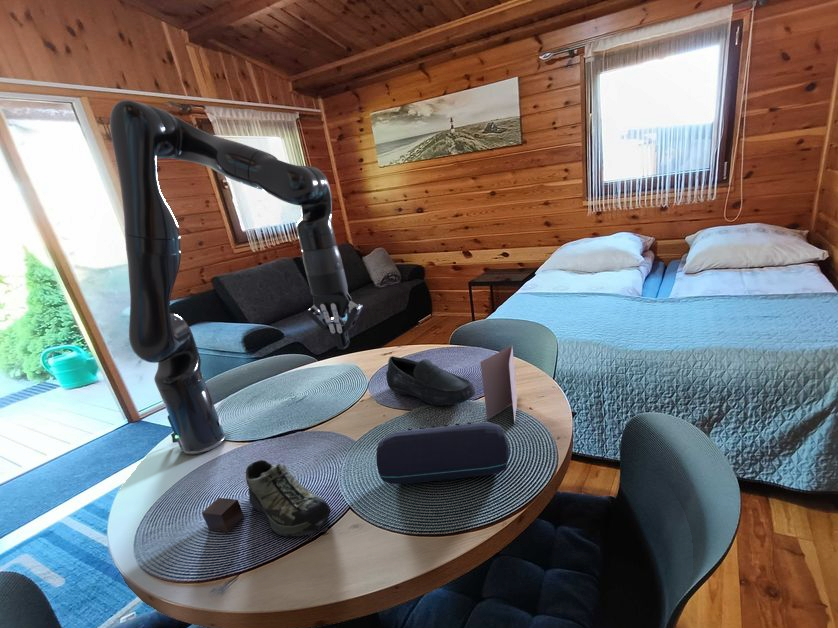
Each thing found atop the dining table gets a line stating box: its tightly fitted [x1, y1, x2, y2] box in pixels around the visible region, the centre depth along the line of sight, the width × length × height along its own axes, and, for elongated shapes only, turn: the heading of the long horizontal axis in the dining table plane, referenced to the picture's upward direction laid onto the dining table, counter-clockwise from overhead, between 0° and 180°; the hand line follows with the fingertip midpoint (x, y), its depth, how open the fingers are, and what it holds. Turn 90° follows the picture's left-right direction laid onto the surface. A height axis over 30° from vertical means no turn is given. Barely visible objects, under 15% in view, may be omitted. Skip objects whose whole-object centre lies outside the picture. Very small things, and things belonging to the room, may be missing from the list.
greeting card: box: [479, 345, 518, 425], centre depth 101 cm, size 11×7×15 cm, turn 136°
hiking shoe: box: [245, 459, 332, 538], centre depth 78 cm, size 8×21×9 cm, turn 56°
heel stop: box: [201, 497, 245, 533], centre depth 78 cm, size 4×4×4 cm
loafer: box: [385, 355, 476, 406], centre depth 116 cm, size 10×29×10 cm, turn 58°
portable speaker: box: [375, 421, 510, 485], centre depth 83 cm, size 25×10×10 cm, turn 90°
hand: (343, 347), depth 95 cm, fingers closed
